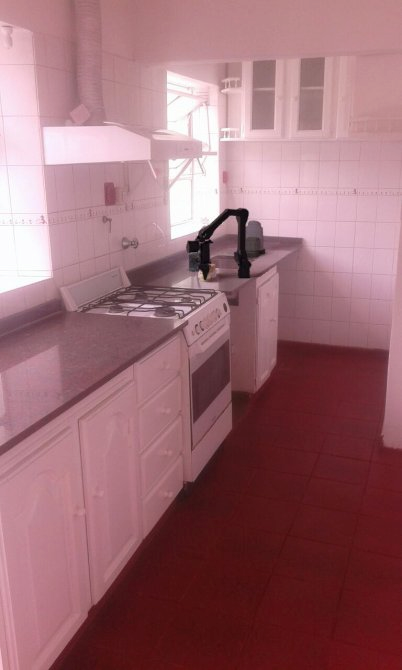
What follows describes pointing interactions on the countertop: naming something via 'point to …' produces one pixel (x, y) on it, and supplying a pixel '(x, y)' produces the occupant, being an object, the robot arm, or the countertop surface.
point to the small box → (195, 266)
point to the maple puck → (206, 278)
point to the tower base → (213, 274)
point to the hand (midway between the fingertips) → (205, 278)
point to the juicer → (254, 239)
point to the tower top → (211, 268)
